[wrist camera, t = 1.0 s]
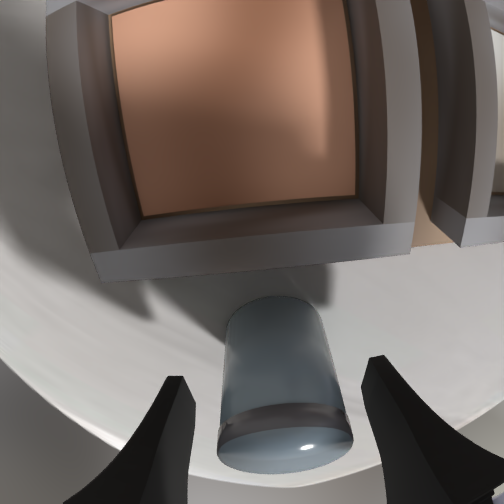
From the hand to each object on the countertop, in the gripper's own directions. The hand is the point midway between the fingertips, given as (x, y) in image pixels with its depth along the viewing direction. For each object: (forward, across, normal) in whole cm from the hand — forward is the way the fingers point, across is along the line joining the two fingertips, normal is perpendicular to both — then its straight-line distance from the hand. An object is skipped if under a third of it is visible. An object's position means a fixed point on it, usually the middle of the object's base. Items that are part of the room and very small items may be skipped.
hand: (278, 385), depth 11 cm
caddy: (+3, -5, -10) cm, 12 cm away
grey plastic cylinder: (+3, 0, 0) cm, 3 cm away
